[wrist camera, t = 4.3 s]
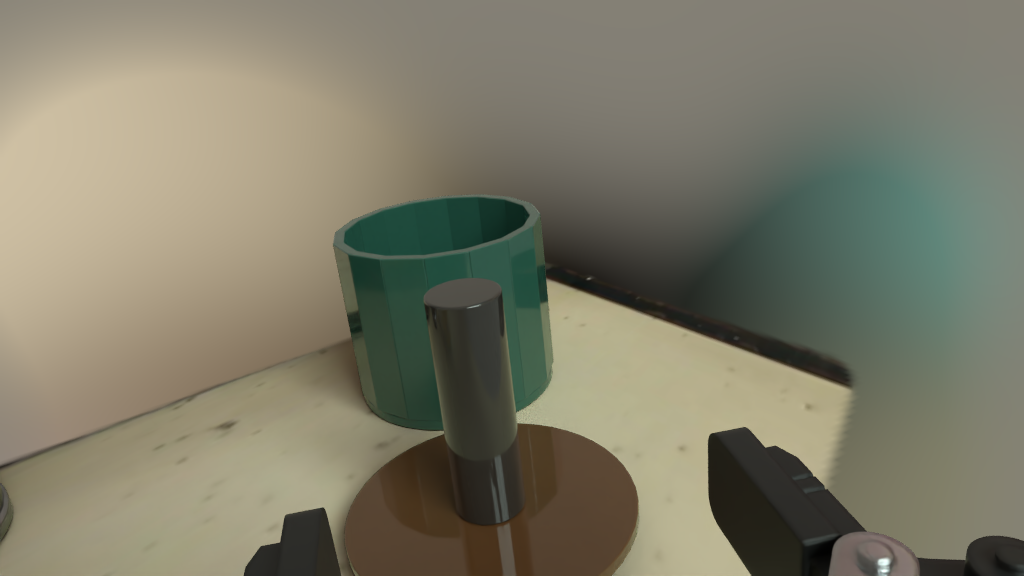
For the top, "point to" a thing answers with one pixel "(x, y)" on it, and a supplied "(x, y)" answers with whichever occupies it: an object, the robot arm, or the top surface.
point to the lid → (489, 472)
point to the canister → (424, 264)
